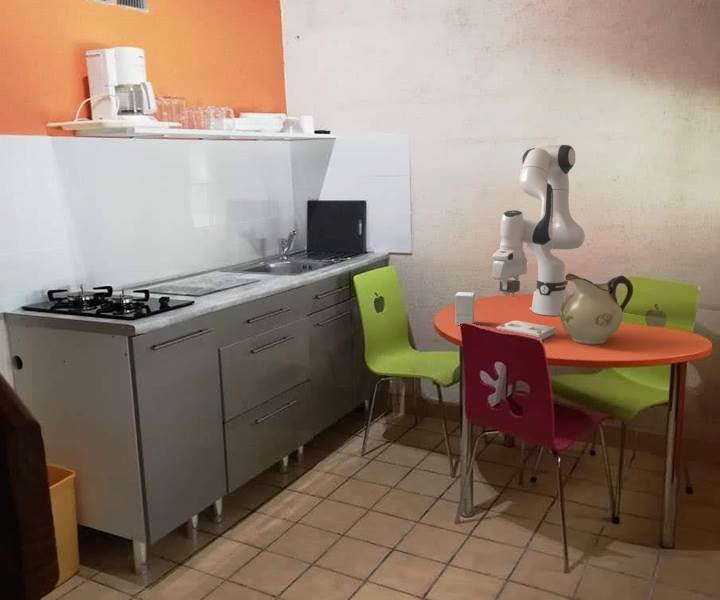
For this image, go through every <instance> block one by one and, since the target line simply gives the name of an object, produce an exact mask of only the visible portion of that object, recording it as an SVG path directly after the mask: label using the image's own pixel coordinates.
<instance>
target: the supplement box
mask: <svg viewBox="0 0 720 600" xmlns="http://www.w3.org/2000/svg"><path fill="white" fill-rule="evenodd" d="M475 295H476V293H475V292H469V291H466V292H465V291H457V292H456V294H455V295H454V299H455V300H454V301H455V302H454V303H455V305H454V309H455V311H454V313H455V314H454V325H455V326H461V325H460V323H462V322H468V323H473V324H474V323H475V306H476V305H475V303H476V302H475Z"/></svg>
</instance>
